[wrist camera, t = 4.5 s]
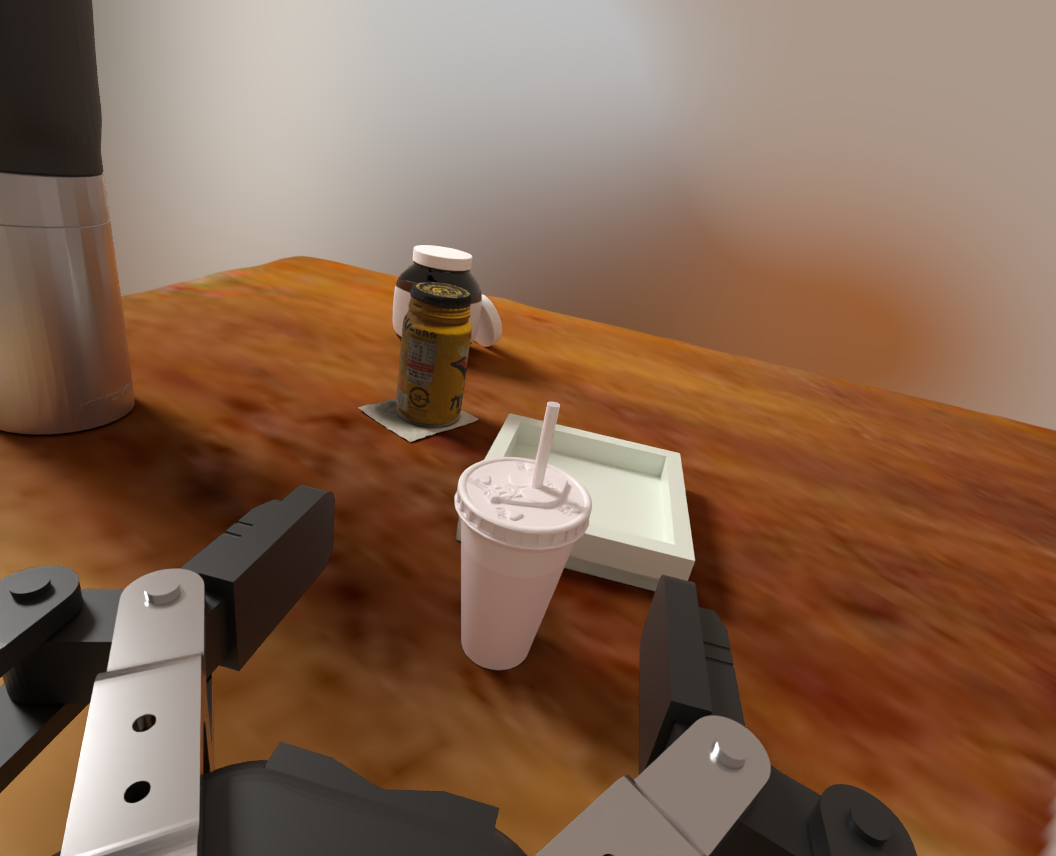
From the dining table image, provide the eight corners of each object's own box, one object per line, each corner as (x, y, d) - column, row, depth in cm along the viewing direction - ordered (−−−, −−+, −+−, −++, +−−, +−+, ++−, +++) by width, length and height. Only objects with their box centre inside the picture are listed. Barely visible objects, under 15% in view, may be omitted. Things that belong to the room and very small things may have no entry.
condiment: (479, 420, 54) (497, 297, 49) (409, 443, 48) (423, 304, 43) (428, 393, 58) (440, 275, 53) (357, 410, 52) (364, 279, 47)
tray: (455, 539, 38) (461, 502, 36) (504, 443, 51) (509, 413, 50) (681, 598, 36) (695, 561, 35) (670, 483, 50) (679, 453, 48)
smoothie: (577, 668, 30) (646, 432, 24) (467, 711, 26) (515, 449, 20) (517, 587, 34) (562, 373, 28) (416, 615, 31) (444, 379, 25)
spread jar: (381, 342, 69) (387, 244, 64) (430, 325, 79) (439, 238, 74) (467, 370, 66) (481, 269, 61) (508, 348, 76) (522, 259, 71)
